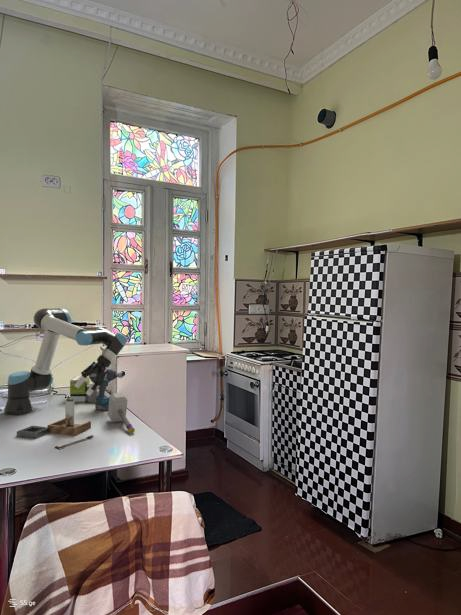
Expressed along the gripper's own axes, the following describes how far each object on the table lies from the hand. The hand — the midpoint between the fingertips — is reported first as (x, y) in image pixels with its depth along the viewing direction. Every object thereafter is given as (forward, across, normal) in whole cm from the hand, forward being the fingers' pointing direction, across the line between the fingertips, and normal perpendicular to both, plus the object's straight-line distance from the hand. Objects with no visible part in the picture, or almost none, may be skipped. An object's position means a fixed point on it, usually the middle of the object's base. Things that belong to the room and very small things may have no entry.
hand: (81, 390), depth 233 cm
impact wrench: (+1, +23, -36) cm, 42 cm away
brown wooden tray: (+19, -5, -5) cm, 21 cm away
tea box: (+5, +57, -38) cm, 69 cm away
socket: (+30, -1, +8) cm, 31 cm away
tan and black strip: (+21, -28, +1) cm, 35 cm away
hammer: (+4, -16, -24) cm, 29 cm away
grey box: (+1, +46, -41) cm, 62 cm away
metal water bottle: (+18, -5, -4) cm, 19 cm away
